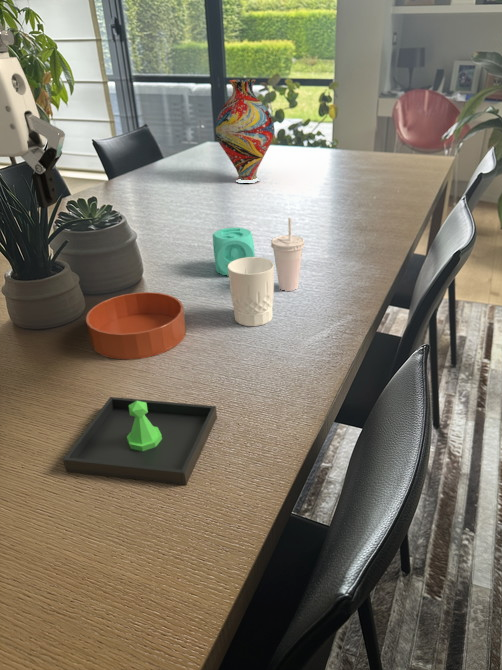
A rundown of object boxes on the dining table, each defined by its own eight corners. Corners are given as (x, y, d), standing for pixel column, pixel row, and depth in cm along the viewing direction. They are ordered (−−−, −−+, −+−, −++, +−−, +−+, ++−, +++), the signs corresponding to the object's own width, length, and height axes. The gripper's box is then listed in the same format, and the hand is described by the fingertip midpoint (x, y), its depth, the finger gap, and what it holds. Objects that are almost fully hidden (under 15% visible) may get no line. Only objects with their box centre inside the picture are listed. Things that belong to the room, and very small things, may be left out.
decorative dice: (251, 261, 122) (249, 225, 118) (255, 275, 115) (253, 237, 111) (215, 264, 121) (211, 228, 117) (217, 278, 114) (214, 241, 110)
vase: (207, 183, 182) (198, 82, 166) (242, 172, 195) (237, 76, 179) (253, 191, 173) (247, 84, 157) (286, 178, 186) (285, 78, 170)
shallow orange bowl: (74, 355, 89) (68, 331, 86) (115, 312, 102) (111, 290, 99) (167, 362, 86) (163, 337, 84) (197, 317, 99) (195, 294, 97)
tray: (66, 471, 65) (62, 459, 64) (112, 407, 76) (110, 396, 75) (186, 485, 63) (184, 473, 62) (217, 417, 74) (215, 406, 73)
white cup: (268, 305, 103) (266, 254, 97) (281, 324, 96) (280, 270, 91) (227, 312, 101) (222, 260, 95) (237, 331, 94) (234, 277, 89)
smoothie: (293, 297, 106) (292, 225, 98) (266, 290, 109) (263, 219, 101) (310, 285, 110) (311, 215, 103) (283, 279, 113) (282, 211, 106)
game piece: (160, 449, 68) (153, 410, 65) (125, 452, 68) (116, 413, 64) (163, 428, 71) (157, 390, 68) (130, 430, 71) (122, 392, 68)
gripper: (59, 41, 61) (91, 197, 70) (-78, 44, 64) (-30, 194, 73) (21, 43, 55) (62, 215, 64) (-129, 47, 57) (-69, 210, 67)
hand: (13, 204), depth 68 cm, fingers open, 9 cm apart
